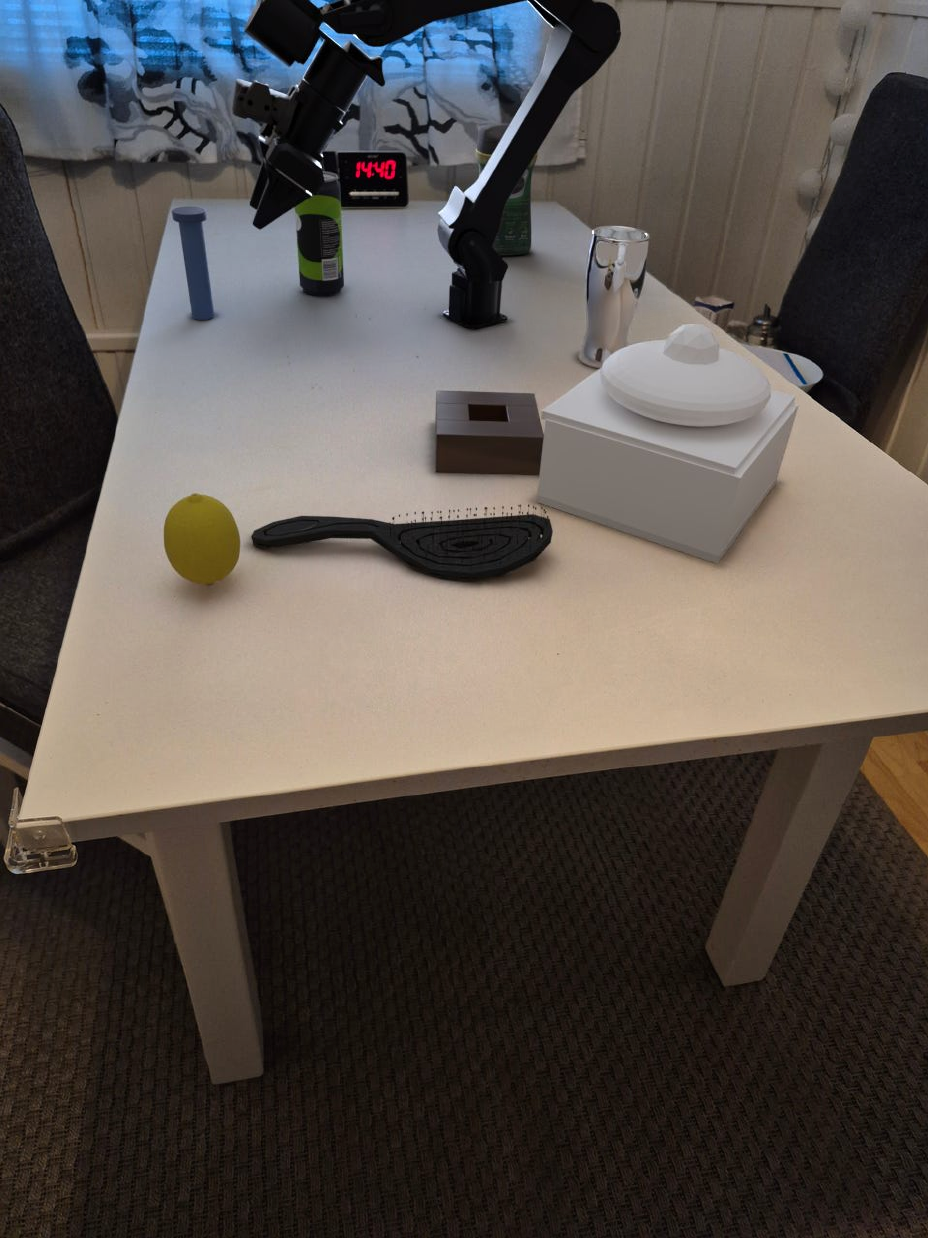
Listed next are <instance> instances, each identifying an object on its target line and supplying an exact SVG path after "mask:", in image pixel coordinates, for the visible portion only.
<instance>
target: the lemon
mask: <svg viewBox="0 0 928 1238" xmlns="http://www.w3.org/2000/svg"><path fill="white" fill-rule="evenodd" d="M163 547H164V551H165V554H166V557H167V559H168V562H169V563H170V565H171V567H172V568H173V570H174V572H176V573H177V574H178V575H179V576H181V578H183V579H185V580H187V581H189V582H190V583H191V582H192V583H195V584H198V585H199V584H201V585H205V586H212V585H213V584H215V583H218V582H220V581H222V580H224V579H225V578H227V577H228V576H229V575H230V574H231V573H232V572H233V570H234V569H235V567H236V565H237V564H238V561H239V558H240V554H241V553H240V552H241V536H240V530H239V527H238V526H237V523H236V520H235V518H234V515H233V514H232V512H231V511H230V509H229V508H228V507H227V506H226V505H225V504H224V503H223V502H222V501H220V500H219V499H217V498H215V497H213V496H211V495H207V494H200V493H197V492H194V493H192V494H190V495H188V496H185V497H183V498H181V499H179V500H178V501H177V502H175V503H174V504H173V506H172V507H171V508H170V509H169V510H168V513H167V514H166V517H165V520H164V524H163Z"/></svg>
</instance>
